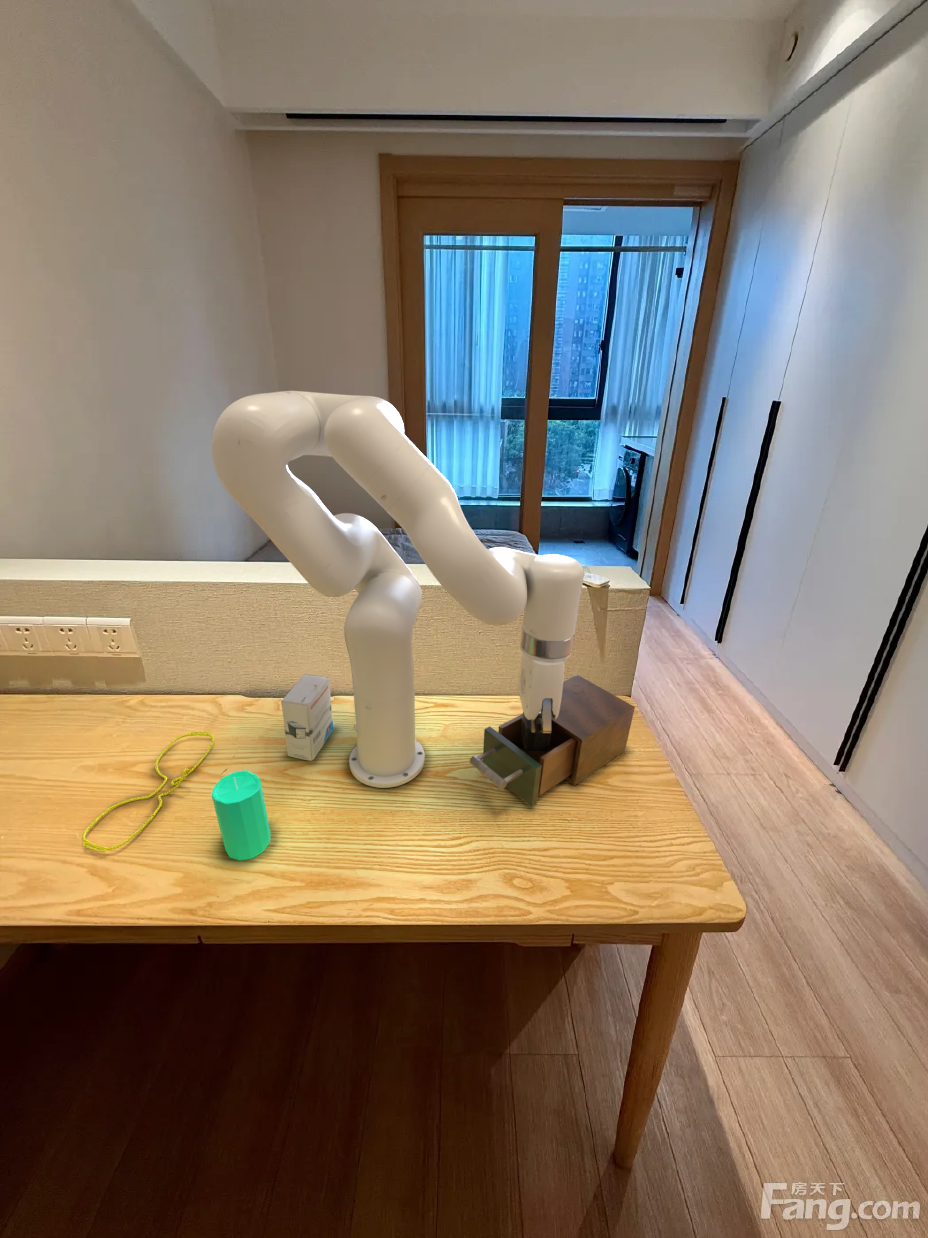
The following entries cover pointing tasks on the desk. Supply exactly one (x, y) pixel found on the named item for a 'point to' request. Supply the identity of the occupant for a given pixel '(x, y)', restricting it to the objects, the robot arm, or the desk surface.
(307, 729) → the ink box
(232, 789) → the candle
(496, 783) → the drawer
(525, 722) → the block
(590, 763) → the cabinet
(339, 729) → the desk surface
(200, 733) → the yellow rope loop
